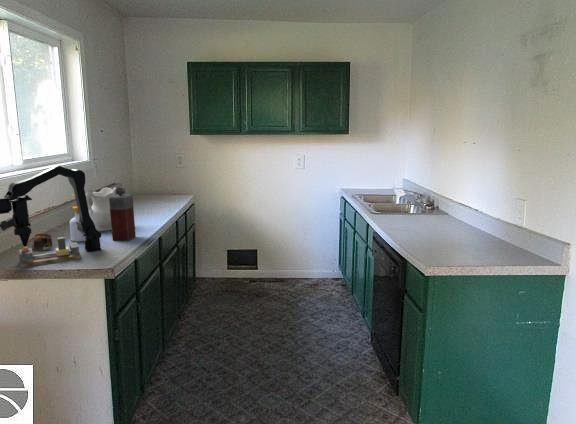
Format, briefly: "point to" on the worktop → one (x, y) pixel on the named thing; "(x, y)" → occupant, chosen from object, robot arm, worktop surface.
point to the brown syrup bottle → (122, 216)
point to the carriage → (62, 247)
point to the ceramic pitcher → (100, 208)
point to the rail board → (48, 256)
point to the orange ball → (25, 249)
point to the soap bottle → (75, 227)
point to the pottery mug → (41, 241)
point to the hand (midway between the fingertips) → (25, 246)
